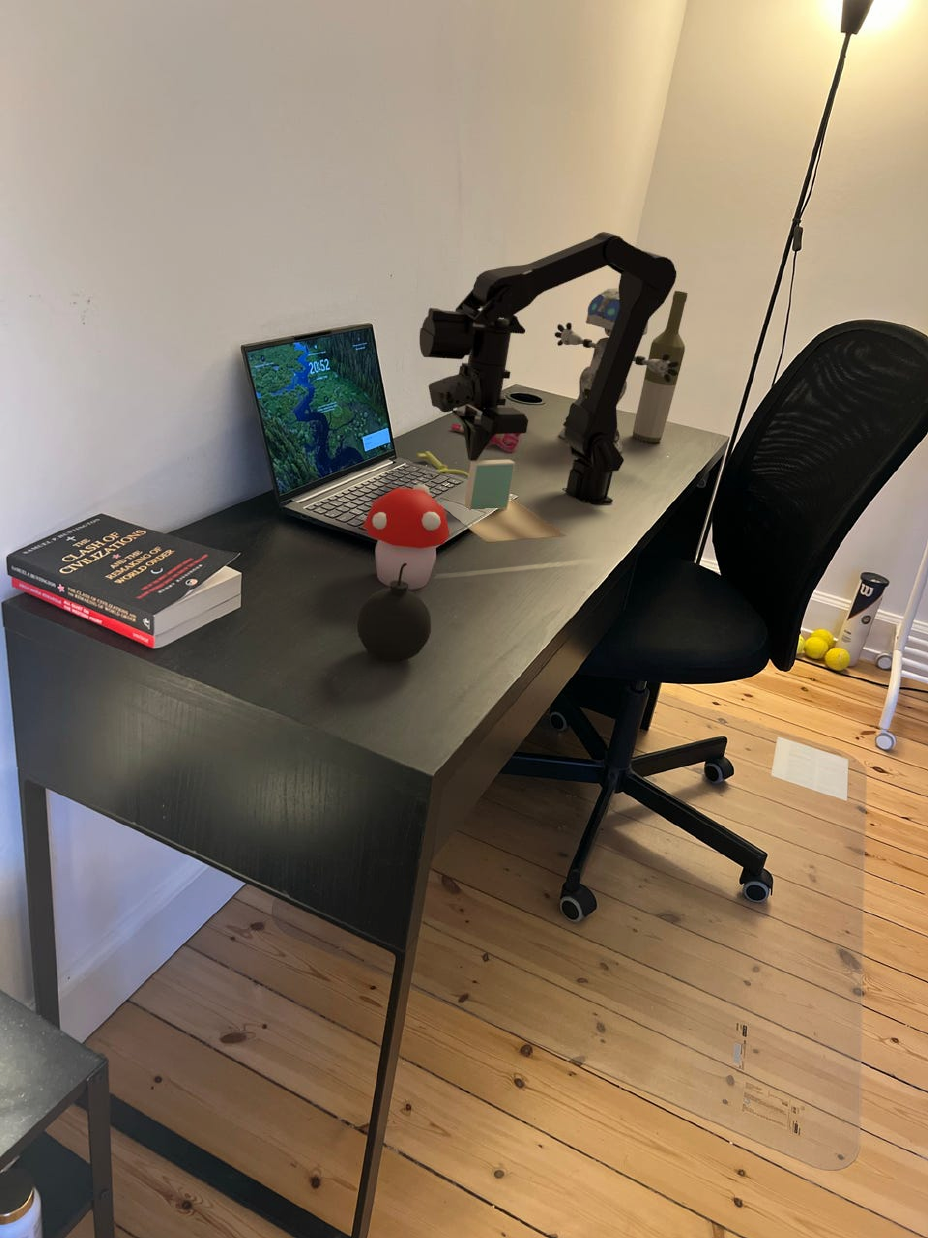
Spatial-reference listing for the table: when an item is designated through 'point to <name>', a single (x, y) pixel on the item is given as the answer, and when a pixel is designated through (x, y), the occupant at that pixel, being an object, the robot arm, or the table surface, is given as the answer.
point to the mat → (513, 525)
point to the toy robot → (604, 316)
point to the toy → (498, 439)
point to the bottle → (655, 387)
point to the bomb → (394, 623)
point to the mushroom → (406, 534)
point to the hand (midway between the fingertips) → (472, 460)
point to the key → (439, 464)
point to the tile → (489, 484)
